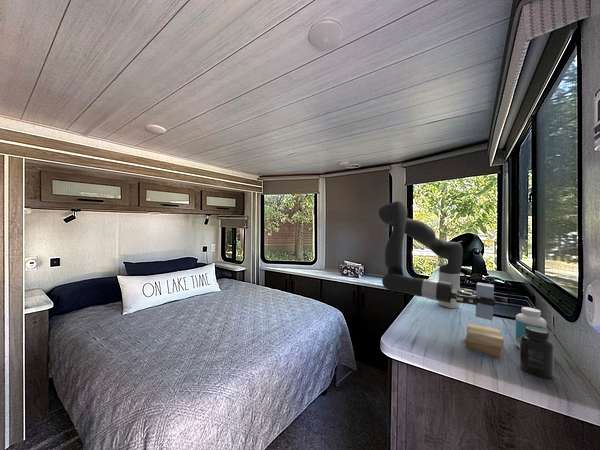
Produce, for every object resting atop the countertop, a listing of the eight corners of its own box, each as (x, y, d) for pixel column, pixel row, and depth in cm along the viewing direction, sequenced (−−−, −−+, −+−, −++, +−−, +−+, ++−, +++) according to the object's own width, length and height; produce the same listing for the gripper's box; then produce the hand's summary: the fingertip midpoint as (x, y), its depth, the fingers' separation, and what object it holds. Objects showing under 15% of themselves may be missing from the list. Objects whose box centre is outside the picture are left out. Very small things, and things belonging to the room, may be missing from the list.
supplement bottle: (560, 377, 64) (561, 334, 64) (540, 380, 63) (541, 335, 63) (531, 363, 71) (532, 323, 71) (513, 364, 70) (514, 324, 70)
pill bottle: (549, 358, 74) (550, 315, 74) (517, 350, 78) (518, 310, 78) (542, 347, 80) (543, 308, 80) (513, 341, 84) (514, 304, 84)
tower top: (466, 331, 86) (467, 323, 86) (498, 338, 81) (499, 329, 81) (468, 340, 79) (468, 332, 79) (503, 349, 74) (503, 339, 74)
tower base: (467, 338, 86) (467, 330, 86) (499, 347, 81) (499, 338, 81) (465, 348, 79) (465, 339, 79) (499, 358, 74) (500, 349, 74)
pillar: (476, 313, 83) (477, 282, 83) (492, 316, 80) (493, 284, 80) (475, 316, 80) (476, 284, 80) (492, 320, 77) (493, 287, 77)
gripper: (433, 283, 84) (495, 294, 73) (440, 277, 95) (495, 286, 84) (432, 304, 84) (494, 318, 73) (440, 296, 95) (495, 307, 84)
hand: (494, 301), depth 78 cm, fingers closed on pillar, 4 cm apart
